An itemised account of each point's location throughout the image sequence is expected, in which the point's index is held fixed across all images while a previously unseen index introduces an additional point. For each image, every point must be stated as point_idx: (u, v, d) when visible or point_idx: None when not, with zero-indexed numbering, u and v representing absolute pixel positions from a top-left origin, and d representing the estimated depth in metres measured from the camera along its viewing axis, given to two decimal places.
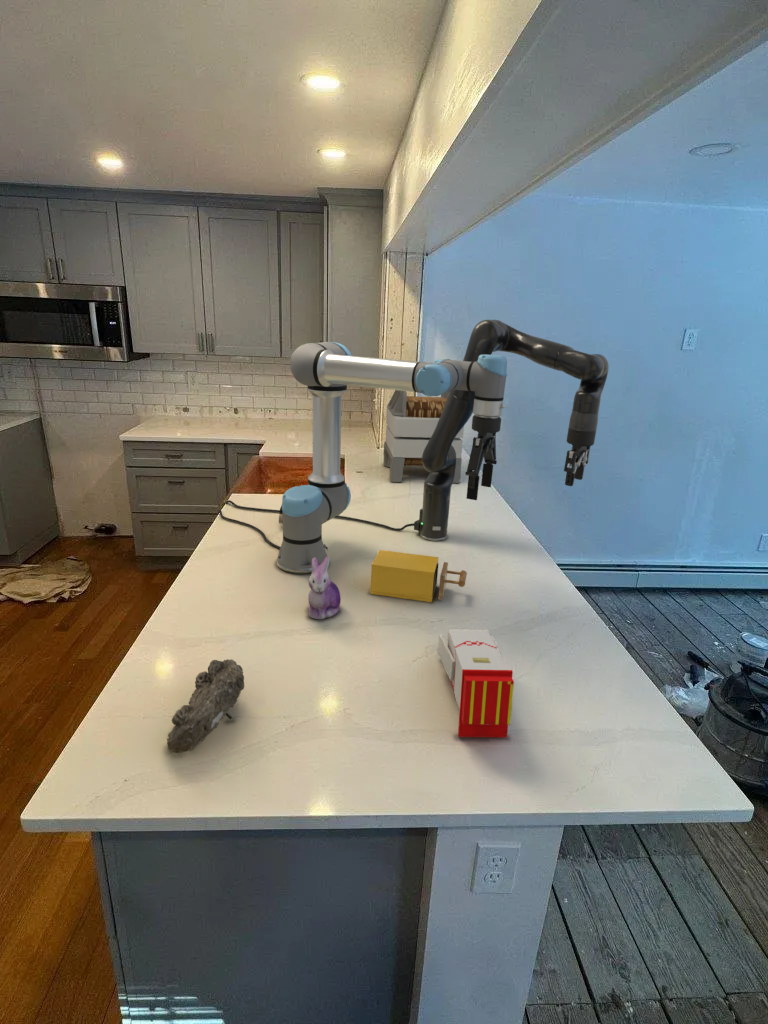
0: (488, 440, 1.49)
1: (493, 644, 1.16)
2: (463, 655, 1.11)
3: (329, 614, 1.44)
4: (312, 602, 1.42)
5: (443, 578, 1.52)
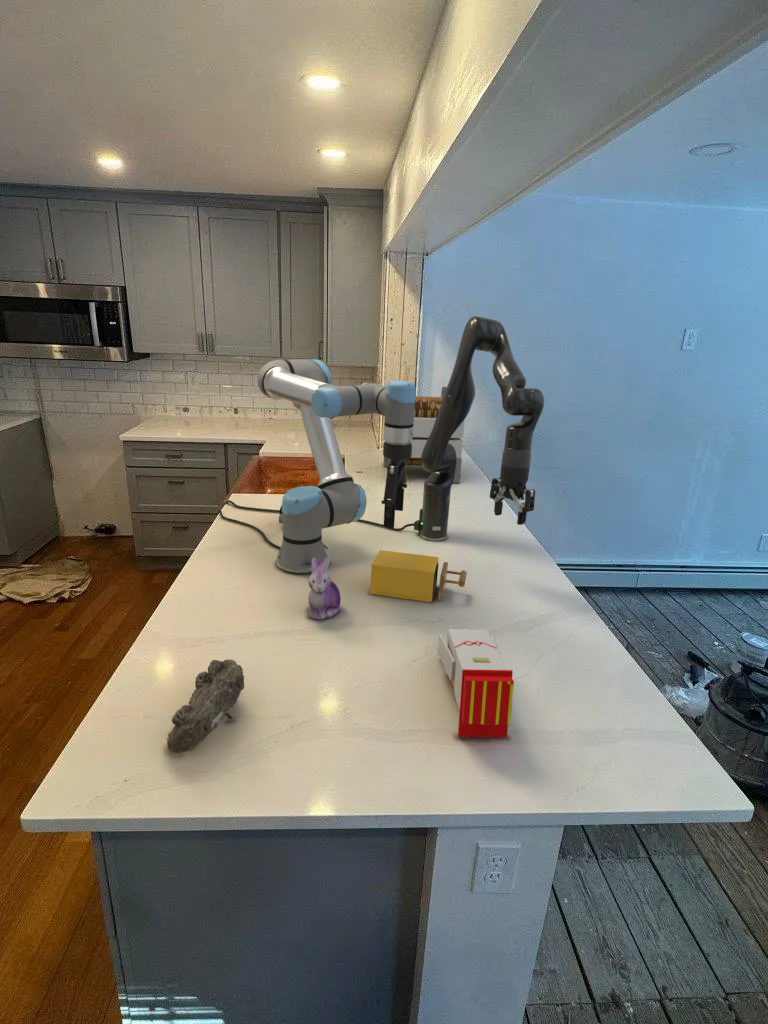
0: (401, 467, 1.48)
1: (493, 644, 1.16)
2: (463, 655, 1.11)
3: (329, 614, 1.44)
4: (312, 602, 1.42)
5: (443, 578, 1.52)
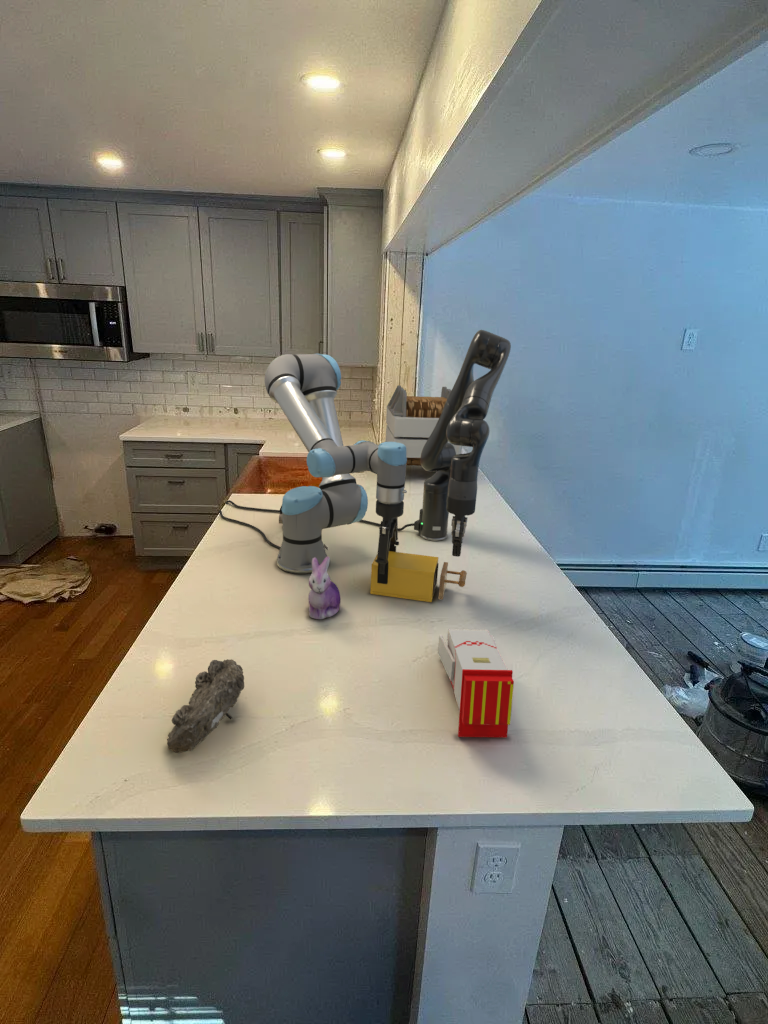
0: (393, 524, 1.53)
1: (493, 644, 1.16)
2: (463, 655, 1.11)
3: (329, 614, 1.44)
4: (312, 602, 1.42)
5: (443, 578, 1.52)
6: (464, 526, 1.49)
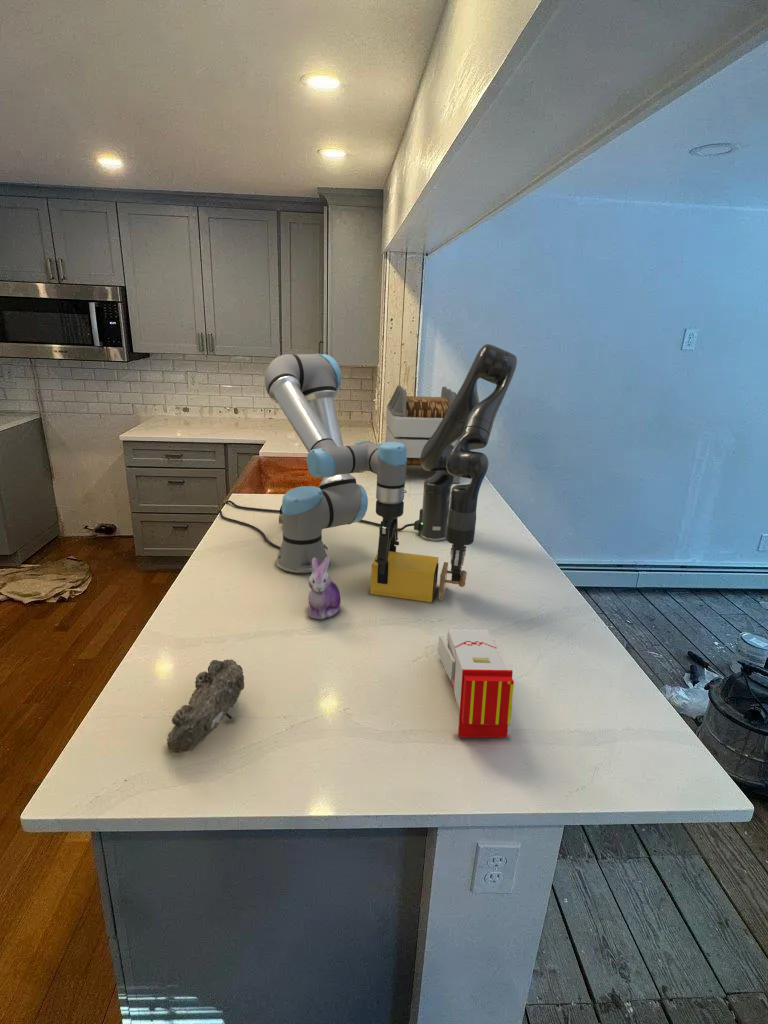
0: (393, 524, 1.53)
1: (493, 644, 1.16)
2: (463, 655, 1.11)
3: (329, 614, 1.44)
4: (312, 602, 1.42)
5: (443, 578, 1.52)
6: (463, 555, 1.51)
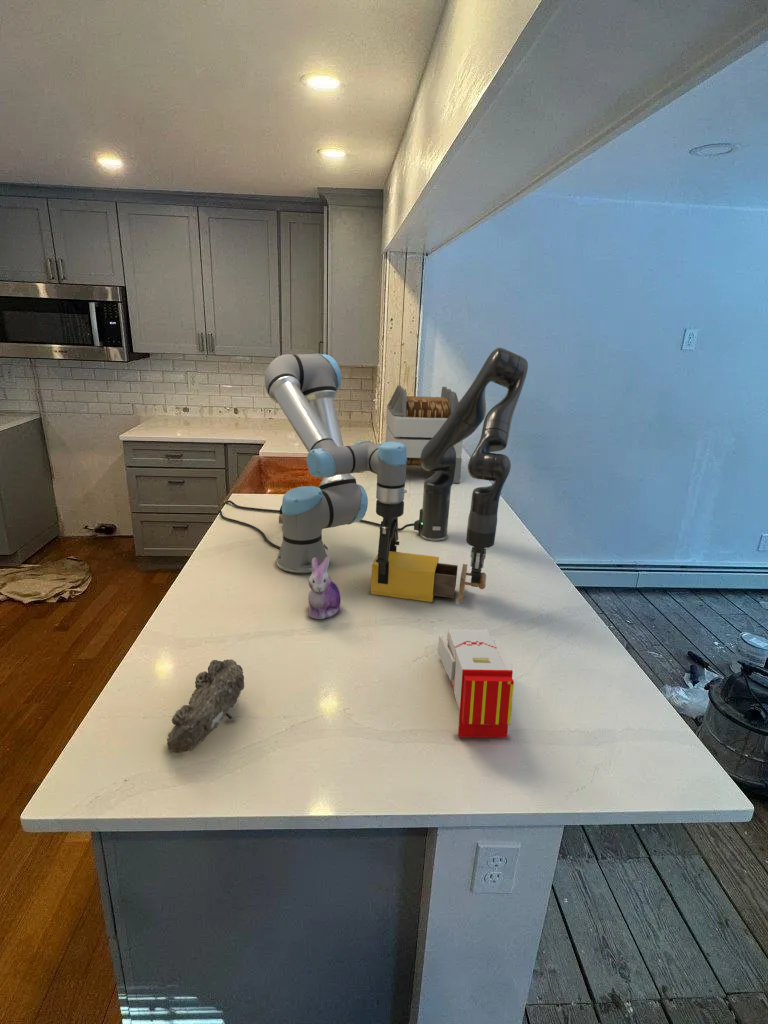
0: (393, 524, 1.53)
1: (493, 644, 1.16)
2: (463, 655, 1.11)
3: (329, 614, 1.44)
4: (312, 602, 1.42)
5: (463, 580, 1.51)
6: (483, 558, 1.50)
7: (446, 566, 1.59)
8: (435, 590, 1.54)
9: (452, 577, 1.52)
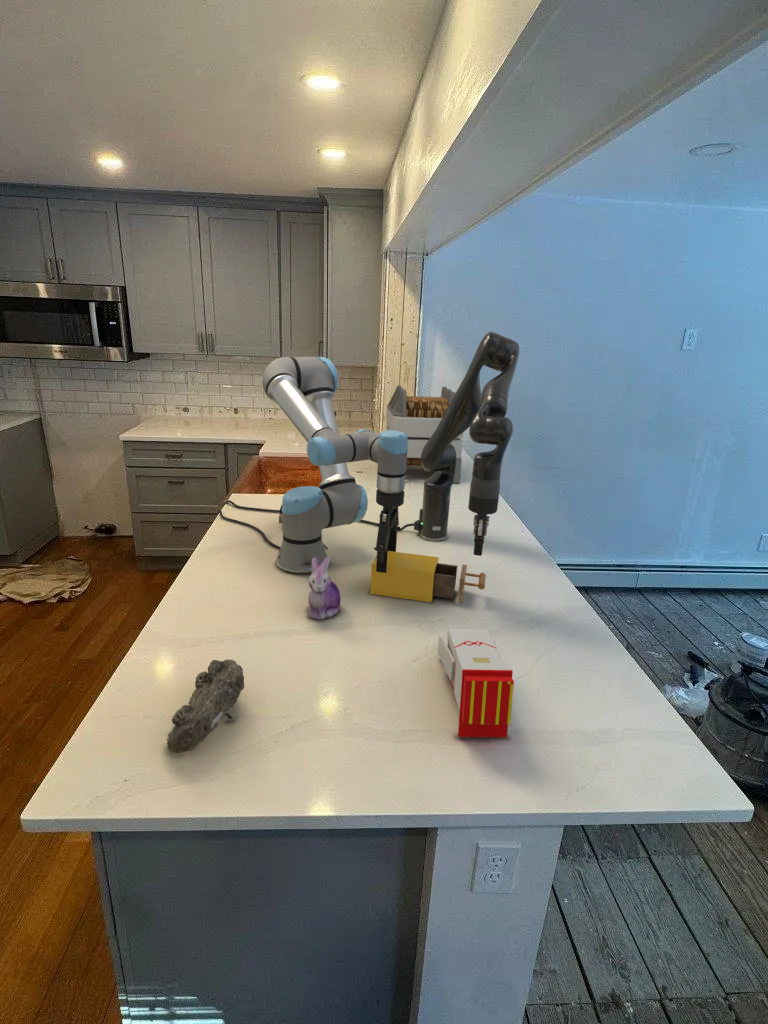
0: (393, 513, 1.52)
1: (493, 644, 1.16)
2: (463, 655, 1.11)
3: (329, 614, 1.44)
4: (312, 602, 1.42)
5: (463, 581, 1.51)
6: (486, 525, 1.47)
7: (446, 566, 1.59)
8: (435, 590, 1.54)
9: (451, 577, 1.52)
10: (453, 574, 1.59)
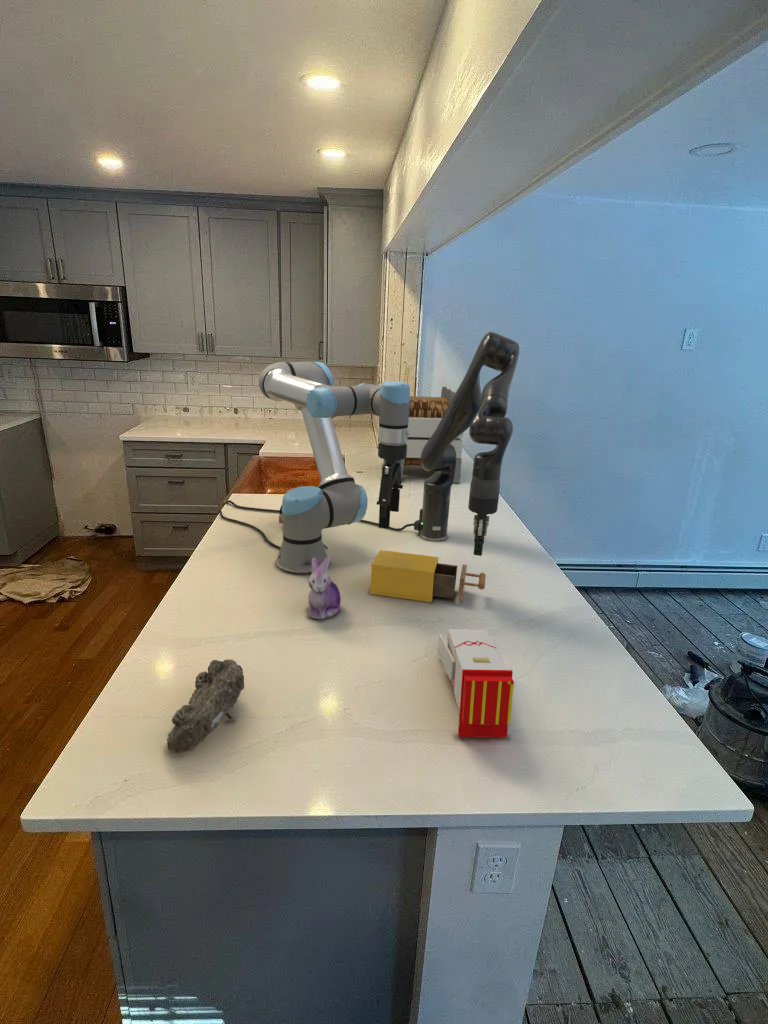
0: (396, 467, 1.47)
1: (493, 644, 1.16)
2: (463, 655, 1.11)
3: (329, 614, 1.44)
4: (312, 602, 1.42)
5: (463, 581, 1.51)
6: (486, 525, 1.47)
7: (446, 566, 1.59)
8: (435, 590, 1.54)
9: (451, 577, 1.52)
10: (453, 574, 1.59)
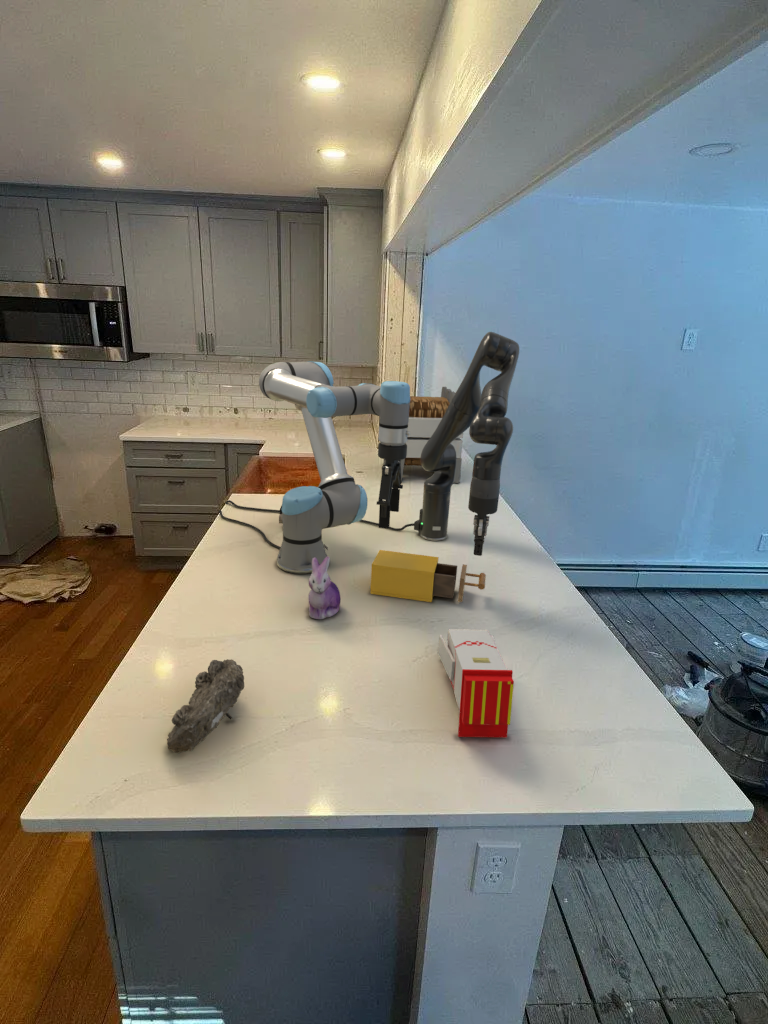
0: (396, 467, 1.47)
1: (493, 644, 1.16)
2: (463, 655, 1.11)
3: (329, 614, 1.44)
4: (312, 602, 1.42)
5: (463, 581, 1.51)
6: (486, 525, 1.47)
7: (446, 566, 1.59)
8: (435, 590, 1.54)
9: (452, 577, 1.52)
10: (453, 574, 1.59)
